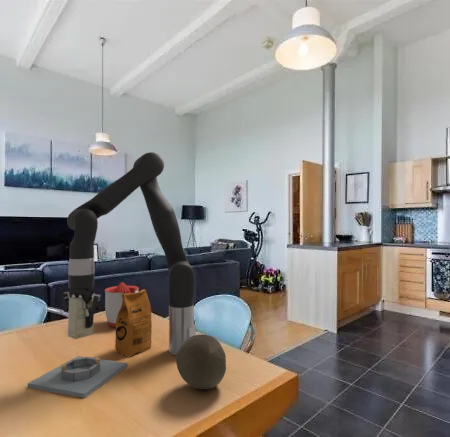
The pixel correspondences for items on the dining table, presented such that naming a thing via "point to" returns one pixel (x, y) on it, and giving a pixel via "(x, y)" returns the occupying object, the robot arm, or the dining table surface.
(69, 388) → the board
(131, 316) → the coffee package
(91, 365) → the collar
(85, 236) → the robot arm
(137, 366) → the dining table surface
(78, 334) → the skincare box
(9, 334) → the dining table surface
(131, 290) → the citrus juicer
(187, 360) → the dark grey round ball
